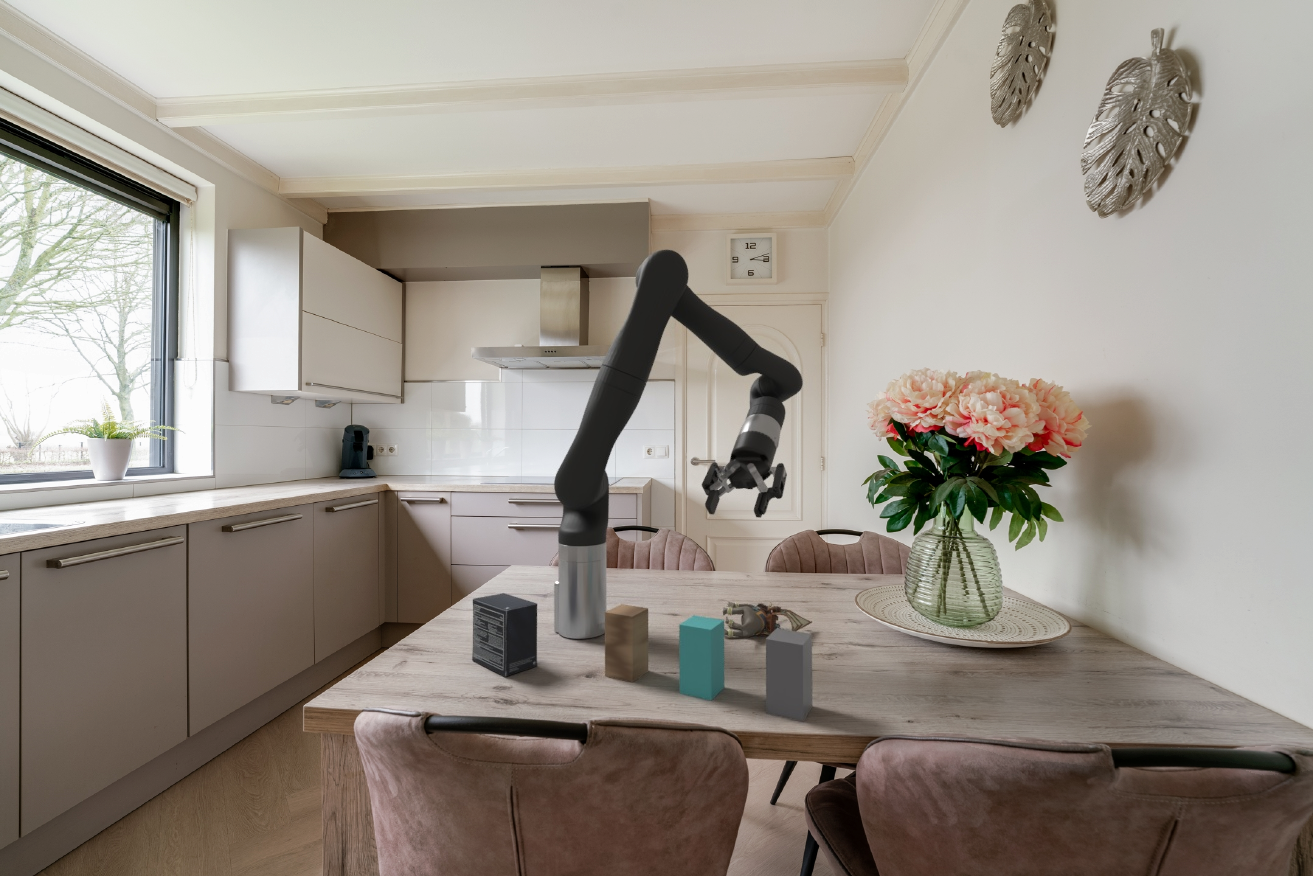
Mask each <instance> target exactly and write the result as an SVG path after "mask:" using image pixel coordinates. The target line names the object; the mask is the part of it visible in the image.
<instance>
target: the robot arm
mask: <svg viewBox="0 0 1313 876" xmlns="http://www.w3.org/2000/svg"><path fill="white" fill-rule="evenodd" d="M688 269H689V268H688V265H687V262H686V261H685V259H684V258H683V256H682V255H681V254H680V253H679V252H677V251H675V250H672V249H661V250H657V251H654V252H653V253H650V254H649V255H648V256H647V257H646V258H645V259H644V260H643V262H642V263H641V264H640V265H639V267H638V269H637V271H636V273H635V287H636V291H635V294H634V297H633V301H632V302H631V303H632V304H631V307H630V309H629V312H628V315H627V316H626V318H625V321H624V322H623V324H622V326H621V327H620V329H619V330H618V332H617V334H616V335H615V337H614V339H613V341H612V342H611V345H610V346H609V348H608V350H607V352H606V354H605V356H604V359H603V361H602V363H601V366H600V368H599V371H598V374H597V376H596V378H595V380H594V383H593V386H592V388H591V389H592V390H591V392H590V395H589V398H588V400H587V404H586V406H585V409H584V411H583V415H582V418H581V422H580V424H579V428H578V430H577V432H576V435H575V437H574V439H573V441H572V443H571V444H570V447H569V448H568V450H567V453H566V455H565V456H564V459H563V460H562V462H561V464H560V465H559V468H558V469H557V470H556V473H555V476H554V483H553V484H554V485H553V487H554V489H553V490H554V493H555V496H556V498H557V500H558V501H559V503H561V504H562V518H561V522H560V525H559V528H558V532H557V533H558V534H557V538H558V539H557V540H558V541H557V542H558V543H557V546H558V548H557V550H558V551H557V552H558V553H557V554H558V563H557V564H558V566H557V567H558V568H557V569H558V578H557V579H558V580H557V581H555V582H554V585H553V586H554V587H553V592H554V593H553V600H554V601H553V622H554V624H553V627H554V630H553V631H554V632H555V633H558V634H559V635H560V636H562V637H564V638H568V639H575V640H576V639H578V640H579V639H591V638H596V637H599V636H602V635H603V634H604V635H605V612H606V611H608V610H607V605H608V604H607V603H608V602H607V534H608V533H607V532H608V527H609V518H610V517H609V516H610V513H609V510H610V507H609V506H610V482H609V477H608V473H607V470H606V468H607V465H608V461H609V459H610V456H611V454H612V451H613V448H614V446H615V444H616V442H617V441H618V438H619V437H620V435H621V434H622V432H623V430H624V429H625V427H626V426H627V424H628V422H629V421H630V420H631V418H632V417H633V415H634V413H635V412H636V409H637V407H638V405H639V403H640V401H641V398H642V396H643V394H644V391H645V388H646V386H647V383H648V380H649V378H650V375H651V372H652V368H653V366H654V363H655V360H656V357H657V354H658V351H659V348H660V345H661V342H662V341H661V340H662V338H663V335H664V331H665V329H666V328H667V327H666V326H667V325H668V323H669V321H670V319H671V317H672V318H673V319H675V320H676V321H677V322H678V323H680V324H681V325H682V326H684V327H685V328H686V329H688V331H689V332H691V333H692V334H693V335H694V336H695V337H697V338H698V339H699V340H700V341H702V343H704V345H706V346H707V347H708V348H709V349H710V350H711V351H712V352H713V353H714V354H715V355H716V356H717V357H718V358H720V359H721V360H722V361H723V362H724V363H725V364H726V365H727V366H728V367H729V368H731V370H733V371H734V372H735V373H736V374H738V376H741V377H745V376H749V375H752V374H760V376H758V377H757V378H756V379H755V380H754V381H753V383H752V384H751V386H750V389H749V409H748V412H747V414H746V416H745V420H744V422H743V423H742V425H741V427H740V429H739V431H738V435H737V437H736V440H735V443H734V445H733V449H732V450H731V453H730V459H729V462H728V463H727V464H725V465H718V463H717V462H716V461H714V462H712V463H711V464H710V466H709V468H708V470H707V472H706V475H705V477H703V480H702V482H701V487H702V489H703V491H704V494H705V495H706V496H707V498H706V501H705V503H704V506H705V508H706V510H707V512H708V515H715V513H716V510H717V507H718V504H719V502H720V500H721V499H720V498H721V497H722V496H723V495H726V493H728V494H729V493H731V492H732V491H734V490H736V489H737V490H741V489H743V490H744V489H747V490H753V489H754V488H756V489H757V490H758V491H759V492H758V494H757V497H756V500H755V504H754V507H753V513H754V515H755V518H762V516H763V515H765V514H766V513H767V509H768V506H769V502H770V501H771V500H772V499H774V498H776V499H778V500H779V499H782V498H783V495H784V490H785V486H786V480H787V475H788V474H787V470H786V468H785V464H784V463H782V462H780V463H777V464H776V466H772V465H773V462H774V458H775V455H776V452H777V450H778V448H779V443H780V438H781V437H780V436H781V432H782V428H783V425H784V422H785V418H786V408H785V407H786V406H785V405H784V402H785V401H787V400H789V399H790V398H792V397H793V396H795V395H797V394H799V392H801V390H802V388H803V384H804V383H803V381H804V380H803V377H802V374H801V372H800V371H799V369H798V368H797V366H795V365H794V364H793V363H791V362H790V361H788V360H787V359H785V358H784V357H781V356H779V355H778V354H776V353H774V352H772V351H769V350H767V349H765V348H764V347H762V346H760V344H758V343H757V342H756V341H755V340H754V339H753V337H751V336H750V335H749V334H748V333H747V332H746V331H745V330H744V329H742V327H740V326H739V325H738V324H736V323H735V322H734V321H732V320H731V319H729V318H728V317H727V316H724V315H723V314H721V313H720V312H718V311H717V310H715V309H714V308H712V307H711V306H710V305H708V304H707V303H706V302H705V301H703V300H702V298H700V297H699V296H698V295H697V294H696V293H695V292H694V291H693V290H692V289H691V287H690V286H689V285H688V282H689V270H688ZM771 475H772V476H773V481H772V486H770V487H768V486H767V484H766V482H765V481H766V480H767V479H768V478H769V477H770V476H771ZM728 481H729V482H730V483H728Z"/></svg>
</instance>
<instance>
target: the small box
mask: <svg viewBox="0 0 1313 876" xmlns="http://www.w3.org/2000/svg"><path fill="white" fill-rule="evenodd" d="M472 620H473V621H472V657H471V658H472V659H471V660H472V662H474V663H476V664H478V665H481V666H483V667H484V668H487V669H489V670H490V671H493V672H494V673H496V674H498V675H501V676H503V677H505V678H506V677H509V676H511V675H515V674H517V673H521V672H524V671H528V670H530V669H533V668H535V667H537V666H538V603H537V602H534V601H530V600H527V599H523V598H521V597H518V596H515V595H511V594H507V593H504V592H503V593H496V594H491V595H487V596H480V597H475V598H473V599H472Z"/></svg>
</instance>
